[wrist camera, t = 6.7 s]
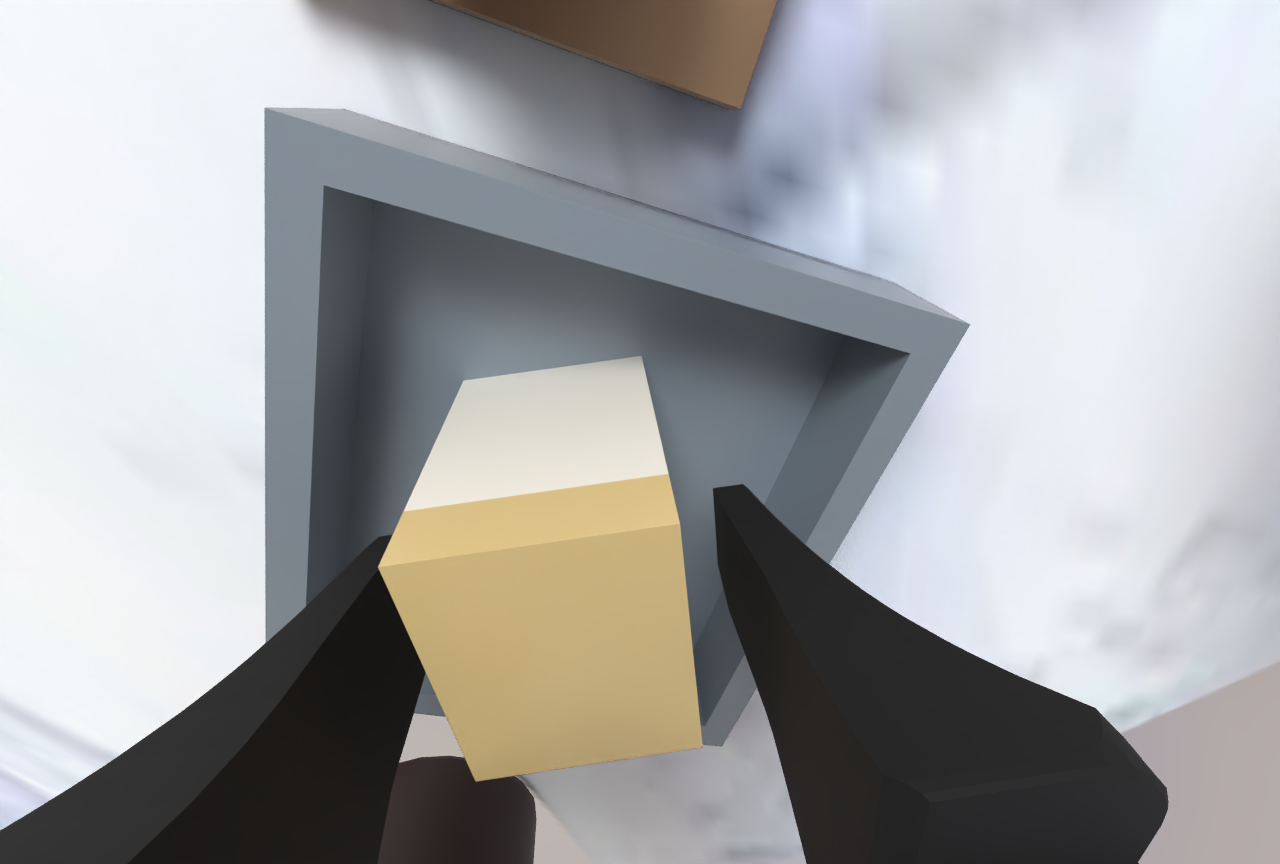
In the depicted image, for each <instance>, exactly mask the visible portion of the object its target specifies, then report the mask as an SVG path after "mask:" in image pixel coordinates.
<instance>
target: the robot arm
mask: <svg viewBox="0 0 1280 864" xmlns="http://www.w3.org/2000/svg"><path fill="white" fill-rule="evenodd" d="M713 499H714V514H715V530H716V545H717V560H718V568H719V572H720V576H721V580H722V584H723V589H724V593H725V597H726V601H727V605H728V609H729V612H730V615H731V617H732V620H733V623H734V626H735V628H736V631H737V634H738V637H739V639H740V642H741V645H742V648H743V650H744V653H745V656H746V659H747V661H748V664H749V667H750V669H751V672H752V675H753V678H754V680H755V683H756V686H757V688H758V691H759V694H760V697H761V699H762V702H763V705H764V707H765V710H766V713H767V716H768V720H769V723H770V726H771V729H772V732H773V736H774V739H775V743H776V747H777V751H778V754H779V758H780V762H781V766H782V769H783V773H784V777H785V781H786V784H787V788H788V792H789V796H790V800H791V804H792V808H793V812H794V816H795V819H796V823H797V827H798V831H799V835H800V839H801V843H802V847H803V851H804V855H805V859H806V863H807V864H1139V863H1138V861H1139V860H1140V858H1141V856H1142V855H1143V853H1144V852H1145V850H1146V849H1147V847H1148V845H1149V844H1150V842H1151V841H1152V839H1153V838H1154V836H1155V834H1156V833H1157V831H1158V830H1159V828H1160V827H1161V825H1162V823H1163V820H1164V818H1165V815H1166V813H1167V810H1168V795H1167V788H1166V787H1165V786H1164V784H1163V783H1162V782H1161V781H1160V780H1159V779H1158V778H1157V776H1156V775H1155V774H1154V773H1153V772H1152V770H1151V769H1150V768H1149V767H1148V766H1147V765H1146V763H1145V762H1144V761H1143V760H1142V758H1141V757H1140V756H1139V755H1138V754H1137V752H1136V751H1135V750H1134V749H1133V748H1132V747H1131V745H1130V744H1129V743H1128V742H1127V741H1126V739H1125V738H1124V737H1123V736H1122V735H1121V734H1120V733H1119V732H1118V731H1117V730H1116V729H1115V728H1114V727H1113V726H1112V725H1111V724H1110V723H1109V722H1108V721H1107V720H1106V719H1105V718H1104V717H1103V716H1102V714H1101V713H1100V712H1099V711H1098V710H1097V709H1096V708H1094V707H1091V706H1089V705H1087V704H1084V703H1082V702H1079V701H1077V700H1075V699H1072V698H1070V697H1067V696H1065V695H1063V694H1060V693H1058V692H1055V691H1053V690H1051V689H1048V688H1046V687H1043V686H1041V685H1039V684H1036V683H1034V682H1031V681H1029V680H1027V679H1024V678H1022V677H1019V676H1017V675H1015V674H1013V673H1010V672H1008V671H1006V670H1004V669H1002V668H1000V667H998V666H996V665H994V664H992V663H990V662H987V661H985V660H983V659H981V658H979V657H977V656H975V655H973V654H971V653H969V652H967V651H965V650H963V649H961V648H959V647H957V646H955V645H953V644H951V643H950V642H948V641H946V640H944V639H942V638H940V637H939V636H937V635H935V634H933V633H932V632H930V631H928V630H926V629H924V628H923V627H921V626H919V625H917V624H916V623H914V622H912V621H910V620H909V619H907V618H905V617H903V616H902V615H900V614H899V613H897V612H895V611H894V610H892V609H890V608H889V607H887V606H886V605H884V604H883V603H881V602H880V601H878V600H877V599H875V598H874V597H872V596H871V595H869V594H868V593H866V592H865V591H864V590H862V589H861V588H859V587H858V586H857V585H855V584H854V583H853V582H851V581H850V580H849V579H847V578H846V577H845V576H843V575H842V574H841V573H839V572H838V571H837V570H836V569H834V568H833V567H832V566H831V565H829V564H828V563H827V562H826V561H824V560H823V559H822V558H821V557H820V556H818V555H817V554H816V553H815V552H814V551H812V550H811V549H810V548H809V547H808V546H807V545H806V544H804V543H803V542H802V541H801V540H800V539H799V538H798V537H797V536H796V535H794V534H793V533H792V532H791V531H790V530H789V529H788V528H787V527H786V526H785V525H784V524H783V523H782V522H781V521H780V520H778V519H777V518H776V517H775V516H774V515H773V514H772V513H771V512H770V511H769V510H768V509H767V508H766V507H765V506H764V504H763V503H762V502H761V501H760V500H759V499H758V498H757V497H756V496H755V495H754V494H753V493H752V492H751V491H750V490H749V488H747V487H746V486H745V485H743V484H739V485H732V486H725V487H718V488H713ZM392 536H393V535H386V536H379V537H378V538H377V539H376V540H374V541H373V542H372V543H371V544H370V545H369V546H368V547H367V548H365V549H364V550H363V551H362V552H361V553H360V554H359V555H358V556H357V557H356V558H355V559H354V560H353V561H352V562H351V563H350V564H349V565H348V566H347V567H346V568H345V569H344V570H343V571H342V572H341V573H340V574H339V575H338V576H337V577H336V578H335V579H334V580H333V581H332V582H331V583H330V584H328V585H327V586H326V587H325V588H324V589H323V590H322V591H321V592H320V593H319V594H318V595H317V596H316V597H315V598H314V599H313V600H312V601H311V602H310V603H309V604H308V605H307V606H306V607H305V608H304V609H303V610H302V611H301V612H299V613H298V614H297V615H296V616H295V617H294V618H293V619H292V620H291V621H290V622H289V623H287V624H286V625H285V626H284V627H283V628H282V629H281V630H280V631H279V632H277V633H276V634H275V635H274V636H273V637H272V638H271V639H270V640H269V641H267V642H266V643H265V644H264V645H263V646H262V647H261V648H260V649H259V650H257V651H256V652H255V653H254V654H253V655H252V656H251V657H250V658H248V659H247V660H246V661H245V662H244V663H242V664H241V665H240V666H239V667H238V668H237V669H235V670H234V671H233V672H232V673H230V674H229V675H228V676H227V677H226V678H224V679H223V680H222V681H221V682H219V683H218V684H217V685H215V686H214V687H213V688H212V689H210V690H209V691H208V692H207V693H205V694H204V695H203V696H201V697H200V698H199V699H198V700H196V701H195V702H194V703H192V704H191V705H190V706H189V707H187V708H186V709H185V710H183V711H182V712H181V713H179V714H178V715H176V716H175V717H174V718H172V719H171V720H169V721H168V722H166V723H165V724H164V725H162V726H161V727H159V728H158V729H157V730H155V731H154V732H152V733H151V734H149V735H148V736H147V737H145V738H144V739H142V740H141V741H140V742H138V743H137V744H135V745H134V746H132V747H131V748H130V749H128V750H127V751H125V752H124V753H122V754H121V755H120V756H118V757H117V758H115V759H114V760H112V761H111V762H109V763H108V764H106V765H105V766H103V767H102V768H100V769H99V770H97V771H96V772H94V773H93V774H91V775H89V776H88V777H86V778H85V779H83V780H82V781H80V782H79V783H77V784H76V785H74V786H72V787H71V788H69V789H68V790H66V791H64V792H63V793H61V794H60V795H58V796H56V797H55V798H53V799H52V800H50V801H48V802H47V803H45V804H44V805H42V806H40V807H39V808H37V809H35V810H34V811H32V812H31V813H29V814H27V815H26V816H24V817H22V818H21V819H19V820H17V821H16V822H14V823H12V824H11V825H9V826H7V827H6V828H4V829H2V830H0V864H378V858H379V852H380V847H381V841H382V836H383V831H384V826H385V821H386V816H387V811H388V806H389V801H390V796H391V791H392V787H393V783H394V779H395V775H396V771H397V767H398V764H399V760H400V757H401V754H402V750H403V747H404V744H405V740H406V737H407V734H408V730H409V727H410V724H411V721H412V717H413V714H414V711H415V707H416V704H417V701H418V697H419V694H420V691H421V687H422V684H423V681H424V677H425V674H426V671H425V669H424V667H423V665H422V663H421V661H420V658H419V656H418V654H417V652H416V650H415V647H414V645H413V643H412V641H411V639H410V636H409V634H408V632H407V630H406V628H405V625H404V623H403V621H402V619H401V617H400V614H399V612H398V610H397V608H396V606H395V603H394V601H393V599H392V597H391V595H390V592H389V590H388V588H387V586H386V584H385V581H384V579H383V577H382V575H381V573H380V570H379V568H378V566H379V564H380V562H381V560H382V557H383V555H384V553H385V551H386V549H387V546H388V544H389V542H390V540H391V538H392Z"/></svg>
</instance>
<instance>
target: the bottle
mask: <svg viewBox="0 0 1280 864" xmlns="http://www.w3.org/2000/svg"><path fill="white" fill-rule="evenodd" d="M535 830H536V811H535V802H534V797H533V796H532V795H531V793H530V792H529V790H528V789H527V787H526V786H525V785H524V783H523V782H522V781H521V780H519V779H518V778H516V777H515V776H509V777H503V778H496V779H489V780H483V781H475V779H474V777H473V775H472V773H471V770H470V768H469V766H468V764H467V762H466V759H465V758H461V757H454V756H438V757H421V758H417V759H413V760H409V761H405V762H401V763H399V764H398V767H397V771H396V775H395V779H394V783H393V787H392V791H391V796H390V801H389V806H388V811H387V816H386V821H385V826H384V831H383V836H382V841H381V847H380V852H379V858H378V864H533V858H534V845H535Z"/></svg>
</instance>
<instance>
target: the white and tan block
mask: <svg viewBox="0 0 1280 864" xmlns="http://www.w3.org/2000/svg"><path fill="white" fill-rule="evenodd" d="M378 568H379V570H380V573H381V575H382V577H383V579H384V581H385V584H386V586H387V588H388V590H389V592H390V595H391V597H392V599H393V601H394V603H395V606H396V608H397V610H398V612H399V614H400V617H401V619H402V621H403V623H404V625H405V628H406V630H407V632H408V634H409V636H410V639H411V641H412V643H413V645H414V647H415V650H416V652H417V654H418V656H419V658H420V661H421V663H422V665H423V667H424V669H425V671H426V674H427V676H428V678H429V680H430V682H431V685H432V687H433V689H434V691H435V693H436V696H437V698H438V700H439V702H440V704H441V707H442V709H443V711H444V713H445V715H446V718H447V720H448V722H449V724H450V726H451V729H452V731H453V733H454V735H455V737H456V739H457V742H458V744H459V746H460V748H461V750H462V753H463V755H464V757H465V759H466V762H467V764H468V766H469V768H470V770H471V773H472V775H473V777H474V779H475V781H483V780H489V779H496V778H503V777H509V776H516V775H523V774H529V773H536V772H543V771H549V770H556V769H563V768H569V767H576V766H583V765H589V764H596V763H603V762H609V761H616V760H622V759H629V758H636V757H642V756H649V755H656V754H662V753H669V752H676V751H682V750H689V749H696V748H702V747H703V745H702V736H701V726H700V716H699V706H698V696H697V686H696V677H695V667H694V657H693V647H692V637H691V627H690V617H689V608H688V598H687V588H686V578H685V568H684V558H683V548H682V539H681V529H680V522H679V517H678V513H677V508H676V504H675V500H674V495H673V491H672V487H671V482H670V478H669V474H668V469H667V465H666V461H665V456H664V452H663V447H662V443H661V439H660V434H659V430H658V426H657V421H656V417H655V413H654V408H653V404H652V399H651V395H650V391H649V386H648V382H647V378H646V373H645V369H644V365H643V360H642V356H637V357H630V358H623V359H615V360H608V361H601V362H594V363H587V364H579V365H572V366H565V367H558V368H551V369H544V370H536V371H529V372H522V373H515V374H508V375H500V376H493V377H486V378H479V379H472V380H464V381H463V383H462V385H461V387H460V389H459V391H458V394H457V396H456V398H455V400H454V402H453V405H452V407H451V409H450V411H449V413H448V415H447V418H446V420H445V422H444V424H443V426H442V429H441V431H440V433H439V435H438V437H437V439H436V442H435V444H434V446H433V448H432V450H431V453H430V455H429V457H428V459H427V461H426V463H425V466H424V468H423V470H422V472H421V474H420V477H419V479H418V481H417V483H416V485H415V487H414V490H413V492H412V494H411V496H410V498H409V501H408V503H407V505H406V507H405V509H404V511H403V514H402V516H401V518H400V520H399V522H398V525H397V527H396V529H395V531H394V533H393V536H392V538H391V540H390V542H389V544H388V546H387V549H386V551H385V553H384V555H383V557H382V560H381V562H380V564H379V566H378Z"/></svg>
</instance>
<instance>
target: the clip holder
mask: <svg viewBox="0 0 1280 864" xmlns="http://www.w3.org/2000/svg"><path fill="white" fill-rule="evenodd" d="M430 1H432V2H435V3H438V4H441V5H443V6H446V7H449V8H452V9H454V10H457V11H460V12H463V13H465V14H468V15H471V16H474V17H476V18H479V19H482V20H485V21H487V22H490V23H493V24H496V25H498V26H501V27H504V28H507V29H509V30H512V31H515V32H518V33H520V34H523V35H526V36H529V37H531V38H534V39H537V40H540V41H542V42H545V43H548V44H551V45H553V46H556V47H559V48H562V49H564V50H567V51H570V52H573V53H575V54H578V55H581V56H584V57H586V58H589V59H592V60H595V61H597V62H600V63H603V64H606V65H608V66H611V67H614V68H617V69H619V70H622V71H625V72H628V73H630V74H633V75H636V76H639V77H641V78H644V79H647V80H650V81H652V82H655V83H658V84H661V85H663V86H666V87H669V88H672V89H674V90H677V91H680V92H683V93H685V94H688V95H691V96H694V97H696V98H699V99H702V100H705V101H707V102H710V103H713V104H716V105H718V106H721V107H724V108H727V109H741V107H742V104H743V101H744V98H745V95H746V92H747V89H748V86H749V83H750V80H751V77H752V74H753V71H754V68H755V65H756V62H757V59H758V56H759V53H760V50H761V47H762V44H763V41H764V38H765V35H766V32H767V29H768V26H769V23H770V20H771V17H772V14H773V12H774V9H775V6H776V3H777V0H430Z"/></svg>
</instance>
